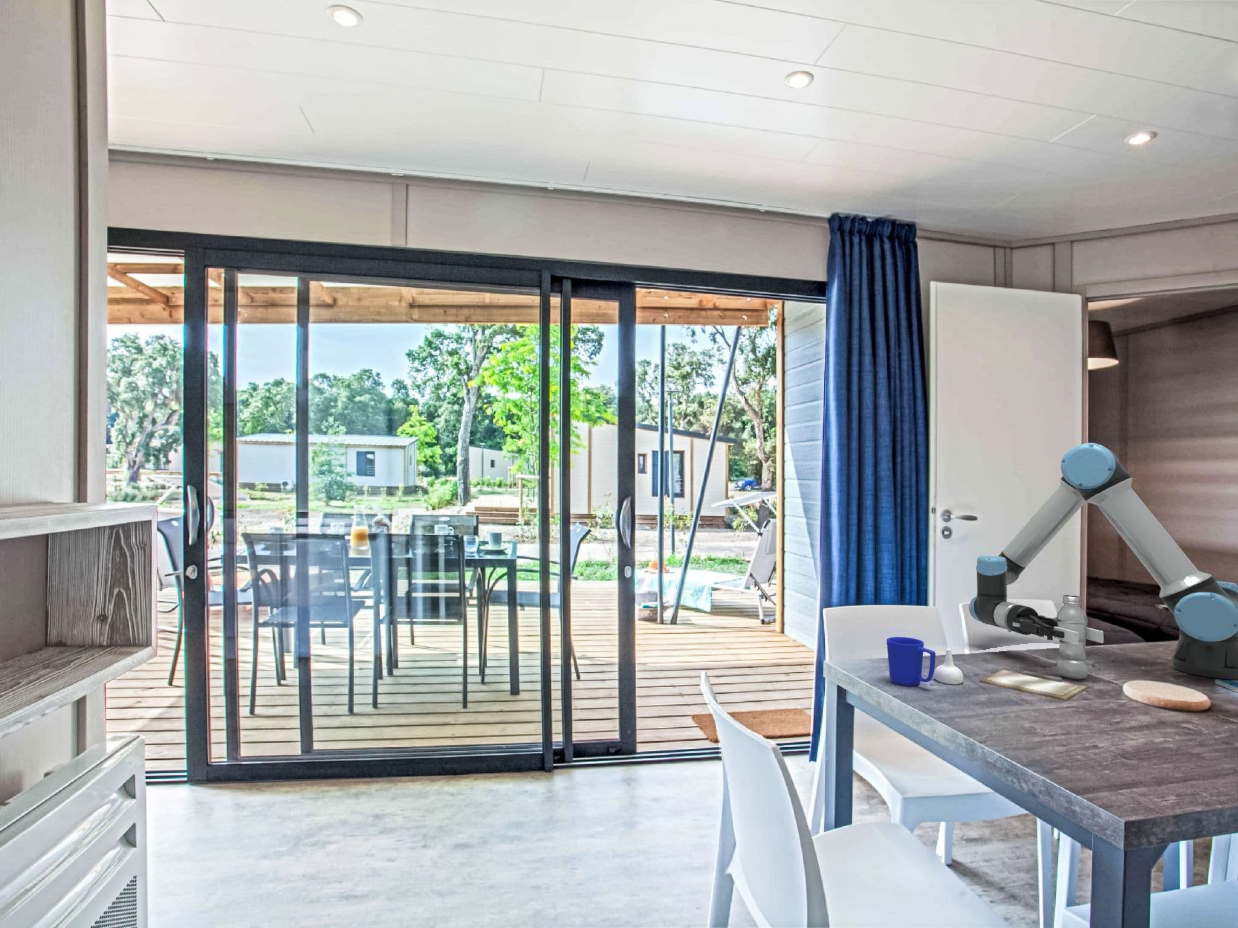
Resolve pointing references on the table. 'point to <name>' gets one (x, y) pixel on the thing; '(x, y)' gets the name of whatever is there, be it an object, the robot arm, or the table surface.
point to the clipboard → (1035, 684)
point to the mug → (908, 660)
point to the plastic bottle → (1070, 654)
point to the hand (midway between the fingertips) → (1089, 637)
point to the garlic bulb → (948, 671)
